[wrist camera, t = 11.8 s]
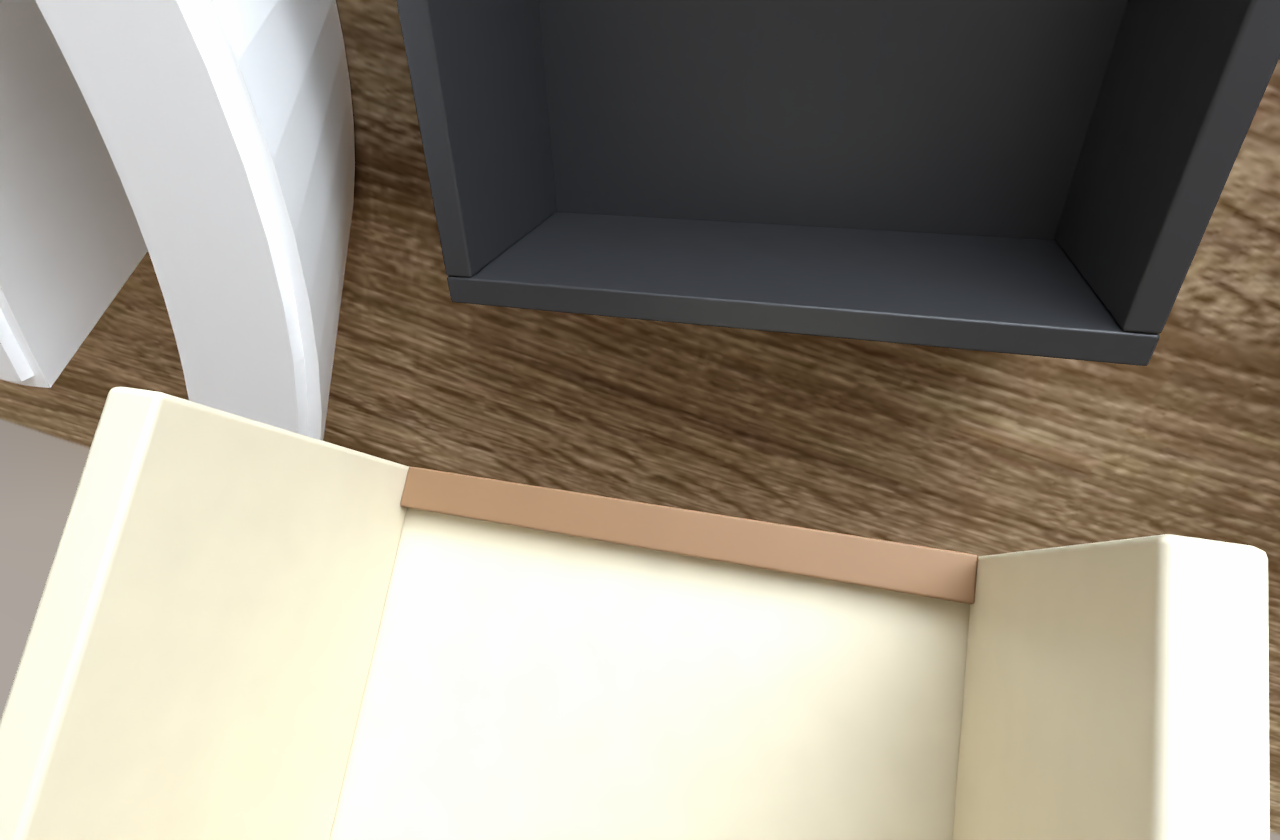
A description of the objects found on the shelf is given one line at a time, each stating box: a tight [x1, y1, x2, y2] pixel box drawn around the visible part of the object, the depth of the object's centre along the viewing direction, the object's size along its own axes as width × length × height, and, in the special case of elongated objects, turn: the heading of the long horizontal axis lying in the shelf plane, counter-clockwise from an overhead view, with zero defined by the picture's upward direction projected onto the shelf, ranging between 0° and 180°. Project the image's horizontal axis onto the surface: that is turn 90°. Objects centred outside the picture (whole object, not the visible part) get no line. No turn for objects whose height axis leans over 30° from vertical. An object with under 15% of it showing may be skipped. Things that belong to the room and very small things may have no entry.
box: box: [0, 387, 1270, 840], centre depth 9 cm, size 5×6×12 cm
